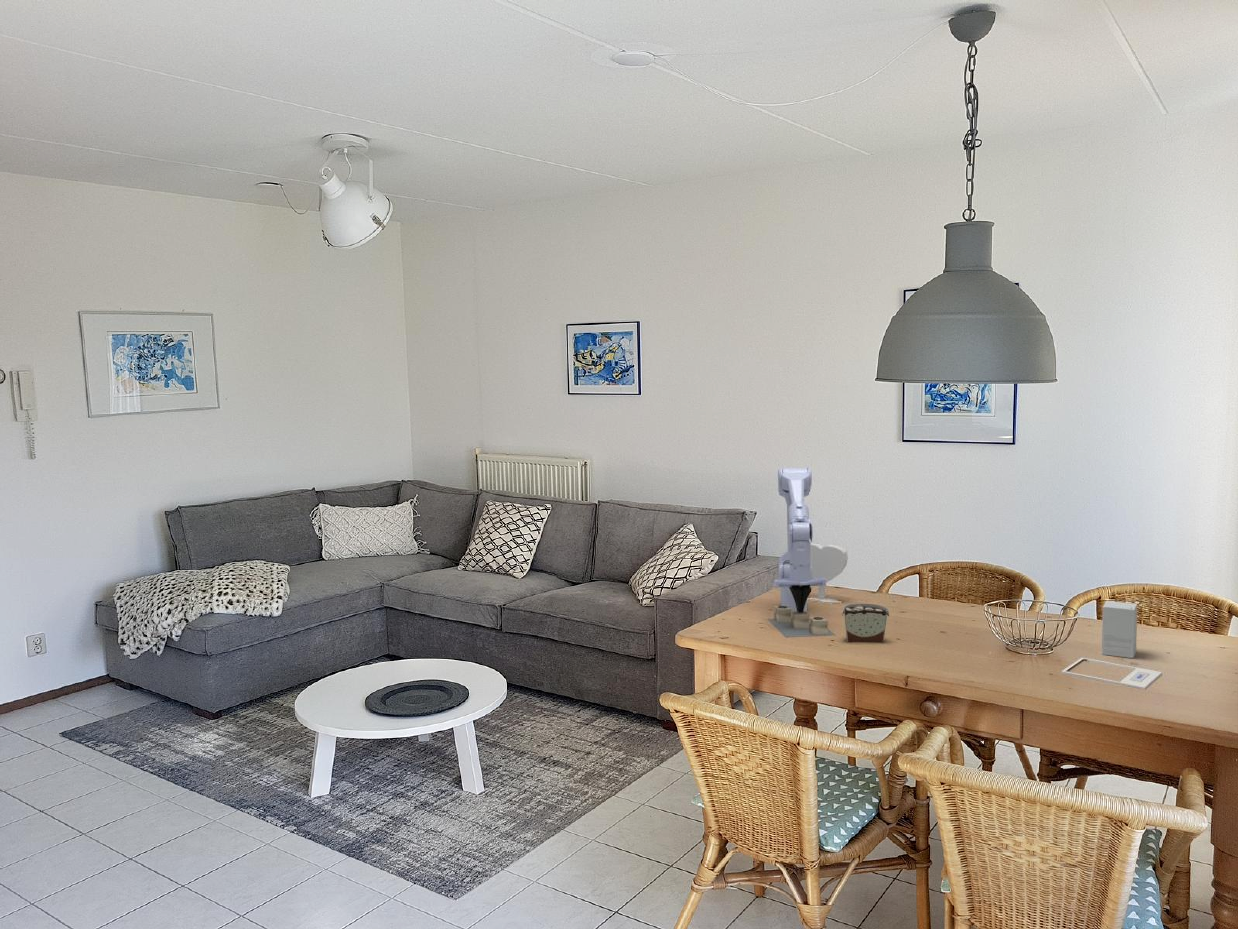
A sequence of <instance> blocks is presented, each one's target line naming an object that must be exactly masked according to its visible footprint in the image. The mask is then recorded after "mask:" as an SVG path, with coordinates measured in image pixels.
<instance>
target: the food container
mask: <svg viewBox="0 0 1238 929" xmlns="http://www.w3.org/2000/svg"><path fill="white" fill-rule="evenodd" d="M841 616H842V617H843V616H844V625H845V634H846V643H867V644H868V643H871V644H872V643H875V644H876V643H879V644H880V643H881V644H882V643H883V644H884V642H885V635H886V627H887V618H888V617H890V613H889V610H888V608H887V607H886V606H883V605H879V604H873V603H852V604H847V605H844V607H843V609H842V613H841Z"/></svg>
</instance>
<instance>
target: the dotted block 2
mask: <svg viewBox="0 0 1238 929" xmlns="http://www.w3.org/2000/svg"><path fill="white" fill-rule="evenodd" d="M828 622H829V620H828V619H827V618H825V617H824V616H809V632H810V633H812V634H813V635H827V634H828V629H829V628H828V625H829V623H828Z"/></svg>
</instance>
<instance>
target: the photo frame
mask: <svg viewBox="0 0 1238 929" xmlns="http://www.w3.org/2000/svg"><path fill="white" fill-rule="evenodd" d="M1082 661H1087V662H1090V663H1095V664H1101V665H1106V666H1110V667H1111V666H1112V667H1117V668H1123V669H1128V670H1131V672H1130V673H1129V674H1127V676H1125V677H1124V678H1122V679H1121V680H1120V681H1118V680H1113V679H1108V678H1107V679H1106V678H1101V677H1096V676H1092V675H1087V674H1082V673H1081V674H1080V673H1076V672H1071V671H1068V670H1069V669H1070V668H1072V667H1073V666H1075V665H1076V664H1078V663H1079V662H1082ZM1061 674H1063V675H1067V674H1068V675H1069V676H1072V675H1073V677H1078V678H1083V679H1087V678H1088V680H1094V681H1100V682H1104V683H1109V684H1113V685H1118V686H1119V685H1120V686H1124V687H1130V688H1134V689H1139V690H1140V689H1141V690H1145V689H1147V688H1148V687H1149V686H1150V685H1151V684H1153V683H1154V682H1155V681H1156V680H1157V679H1158V678H1159V677H1160V676H1161V674H1163V672H1162V671H1158V670H1152V669H1147V668H1141V667H1135V666H1131V665H1125V664H1120V663H1114V662H1108V661H1103V660H1099V659H1098V660H1097V659H1093V658H1087V657H1080V658H1079V659H1077V660H1076V661H1075V662H1072V663H1071V664H1070V665H1068V666H1067V667H1066V668H1064V669H1063V670H1061Z"/></svg>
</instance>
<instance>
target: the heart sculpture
mask: <svg viewBox="0 0 1238 929" xmlns="http://www.w3.org/2000/svg"><path fill="white" fill-rule="evenodd" d="M810 543H811V564H812V578H825V579H826V583H828V582H830V581H832V580H833V579H835V578H836V577H838V576H839V575H840V574H842V573H843V571H844V570H845V568H846V566H847V563H848V559H849V558H848V552H847V550H846V549H845V548H844V547H842V546H840V545H836V544H827V545H825V546H823V545H822V544H819V543H812V542H810ZM817 594H818V596H809V597H810V598H808V599H815V600H820V601H822V602H821V603H826V602H827V603H828V602H839V601H837V600H838V599H835V598H829V597H826V586H818V593H817Z"/></svg>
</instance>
